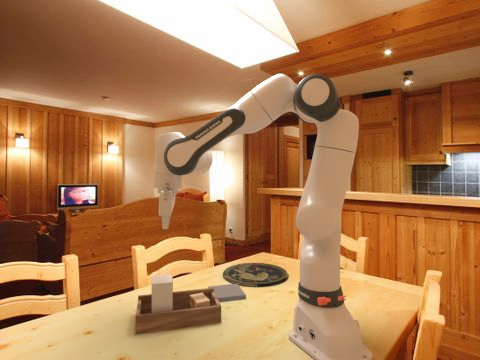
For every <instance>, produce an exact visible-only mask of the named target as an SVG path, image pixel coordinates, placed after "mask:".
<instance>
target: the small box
mask: <svg viewBox="0 0 480 360" xmlns="http://www.w3.org/2000/svg"><path fill="white" fill-rule="evenodd" d="M173 284H174V280H173V274H170V273H169V274H160V275H152V278H151V294H152V313H157V312H166V311H173V292H174V288H173V287H174V285H173Z"/></svg>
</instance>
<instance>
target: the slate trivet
mask: <svg viewBox="0 0 480 360" xmlns="http://www.w3.org/2000/svg"><path fill="white" fill-rule="evenodd" d="M207 288H214V293H215V295H216V297H217V299H218V301H219V303H222V302H223V303H225V302H231V301H239V300H246V299H247V294H246V293H245V292H244V291H243V289H242V288H241V286H239V285H238V284H232V283H229V284H222V285H221V284H218V285H211V286H207Z"/></svg>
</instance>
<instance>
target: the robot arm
mask: <svg viewBox="0 0 480 360" xmlns="http://www.w3.org/2000/svg"><path fill="white" fill-rule="evenodd" d="M341 106H342V103H341V100H340V97H339V95H338V90H337V88H336V86H335V84H334V82H333V81H332V80H331V79H330V78H329V77H328V76H327V75H324V74H321V73H313V74H310V75H307V76H306V77H304V78H302V80H301V81H299V83H295V81H294V80H292V78H291V77H290V76H288V75H286V74H284V73H277V74H275V75H273V76H271V77H269V78H267V79H266V80H264V81H263V82H261V83H260V84H259V83H258V85H256V86H255V87H253V89H251V91H248V92H247V93H246V94H245V95H244V96H242V97H241V98H240V99H239V100H237V101H236V102H235V103H234V104H233V105H231V106H230V107H228V108H227V109H226V110H225V111H222V113H220V114H218V115H217V116H215V117H214V118H212V119H211V120H209V121H208V122H207V123H205V124H204V125H202V126H201V127H200V128H198V129H196V131H194V132H192V133H191V134H188V135H187V136H185V135H183V133H181V132H179V131H165V132H162V133H161V134H159V135H158V137H157V139H156V142H155V149H154V162H155V168H154V172H153V188H154V189H157V194H159V199H158V216H159V217H161V223H162V224H161V229H162V230H168V229H169V225H170V222H171V216H172V213H173V210H174V206H175V204H176V196H177V194H178V193H179V192H178V191H179V190H181V189H182V188H183V176H186V175H198V174H199V175H200V174H202V173H203V174H204V173H205V172H207V171H208V170H209V169H210V168H211V167H212V164H213V155H212V154H213V153H212V152H211V150H212V149H213V148H215V147H216V146H217V145H219V144H220V143H222V142H223V141H225V140H226V139H228V138H231V137H233V136H236V135H247V134H255V133H257V132H259V131H261V130H263V129H264V128H267V127H268V126H269V125H271V124H272V123H273V122H275V120H277V119H279V117H281V116H283V115H285V114H286V113H289V112H290V113H291V114H293V115H294V116H295V117H296V118H298V120H300V121H302V122H304V124H305V123H306V124H308V125H315V126H316V129H317V134H316V135H317V136H316V139H315V140H316V141H315V143H314V148H313V154H312V159H311V163H310V166H309V167H310V168H309V171H308V176H307V179H306V182H305V184H304V188H303V190H302V195H301V197H300V201H299V204H298V208H297V212H296V216H295V224H296V225H295V226H296V228H297V230H298V232H299V233H300V235H302V238H301V239H302V240H301V246H300V254H299V282H298V286H297V293H298V294H297V295H298V301H297V302H296V304H295V306H294V308H293V309H294V310H293V319H292V324H293V325H292V330H291V331H290V332H289V333H288V339H289V340H290V341H292V342H293V344H295V345H296V346H298V347H299V348H300V349H301V350H302V351H304V352H305V353H306V354H308V355H309V357H311V358H312V359H314V360H373V359H374V356H373V355H374V354H373V352H372V351H370V349H369V348H368V347H367V346H366V345H365V344H364V342H363V338H362V333H361V329H360V322H359V320H357V319H354V318H353V316H352V314H351V313H350V311H349V309H348V307H347V306H346V304H345V301H346V300H347V298H346V297H347V296H346V295H344V292H343V289H342V286H341V246H342V245H341V242H342V240H341V239H342V211H343V206H344V204H345V203H344V202H345V198H346V195H347V190H348V186H349V185H350V184H349V183H350V179H351V175H352V169H353V166H354V161H355V158H356V157H355V156H356V153H357V147H358V141H359V131H360V129H359V127H360V122H359V118H358V116H357V115H356V114H355V113H353V112H352V111H349V110H347V109H342V108H341Z"/></svg>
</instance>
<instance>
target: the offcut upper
mask: <svg viewBox="0 0 480 360" xmlns="http://www.w3.org/2000/svg"><path fill="white" fill-rule="evenodd" d="M190 305H191V306H192V307H193V308H198V307H206V306H210V300H209V299H208V298H207V297H206V296H205V295H204V294H203V293H198V294H193V295H190Z"/></svg>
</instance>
